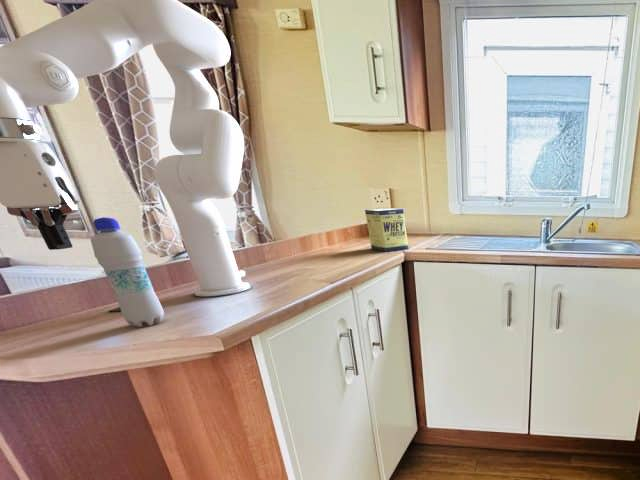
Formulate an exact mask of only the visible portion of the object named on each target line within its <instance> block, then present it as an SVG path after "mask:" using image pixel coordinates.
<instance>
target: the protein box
mask: <svg viewBox="0 0 640 480" xmlns="http://www.w3.org/2000/svg"><path fill="white" fill-rule="evenodd" d="M364 213H365V219H366V224H367V230H368V236H369V242H370V248H371V249H373V250H376V251H377V250H378V251H381V252H394V251H401V250H408V249H409V243H408V235H407V229H406V219H405V213H404V208H373V209H364Z"/></svg>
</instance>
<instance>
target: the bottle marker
mask: <svg viewBox="0 0 640 480" xmlns="http://www.w3.org/2000/svg"><path fill="white" fill-rule="evenodd" d="M118 312H119V313H121V309H120V307H119V306H118V307H116V308H113V309H110V310H108V313H118Z"/></svg>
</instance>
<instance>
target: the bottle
mask: <svg viewBox="0 0 640 480" xmlns="http://www.w3.org/2000/svg"><path fill="white" fill-rule="evenodd" d="M93 225H94V228H95V231H96V232H98V233H95V235H93V236H91V238H90V243H91V247H92V250H93V255H94V257H95V259H96V260H97V263H98V265H100V266H101V267H102V268H103V272H104V273H105V276H106V277H107V280H108V282H109V284H110V287H111V289H112V290H113V293H114V296H115V297H116V298H115V299H116V300H117V304H118V307H120V309H121V311H120V313H121V314H122V317H123V319H124V320H125V322H126V323H127V324H128V325H130V326H131V327H138V328H141V327H143V326H144V324H143V323H146V324H147V325H148V326H153V325H154V322H155V323H157V324H160V323H162V322H163V320H165V311H164V309H163V306H162V303H161V302H160V299H159V298H158V296H157V294H156V291H155V290H154V287H153V285H152V282H151V280H150V277H149V274H148V272H147V270H146V267H145V265H144V257H143V255H142V250H141V249H140V247H139V245H138V244H137V242H136V240H135V238H134V237H133V235H131V234H129V233H126V232H123V231H121V226H120V224H119V222H118V220H117V219H115V218H114V217H113V218H112V217H104V216H103V217H99V218H96V219H94V220H93Z"/></svg>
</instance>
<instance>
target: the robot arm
mask: <svg viewBox="0 0 640 480" xmlns="http://www.w3.org/2000/svg"><path fill="white" fill-rule="evenodd" d="M150 45H152V47H153V50H154V52H155V54H156V56H157V58H158V59H159V61H160V62H161V64H162V65H163V67H164V69H165V70H166V72H167V73H168V75H169V76H170V78H171V81H172V83H173V85H174V101H173V106H172V111H171V117H170V124H169V139H170V141H171V143H172V145H173V147H174V148H175V149H176V150H177V151H178V152H179V153H181V154H174V155H173V154H172V155H168V156H165V157H162V158H161V159H159V160H158V161H157V163H156V164H155V167H154V178H155V181H156V184H157V186H158V188H159V190H160V191H161V193H162V195H163V196H164V198H165V200H166V202H167V204H168V206H169V208H170V210H171V212H172V214H173V217H174V220H175V222H176V225H177V228H178V230H179V233H180V236H181V237H180V238H181V239H182V242H183V245H184V248H185V251H186V253H187V256H188V259H189V261H190V265H191V268H192V270H193V273H194V275H195V278H196V281H197V284H198V287H197V288H195V289H193V294H194V296H196V297H217V296H218V297H219V296H227V295H232V294H237V293H238V294H239V293H241V292H244V291H247V290H250V289H251V285H250V283H249V282H247V281H246V282H245V281H242V278H245V277H246V271H244V270H242V269H240V270H239V267H238V265H237V261H236V258H235V255H234V252H233V249H232V245H231V242H230V239H229V236H228V233H227V232H228V231H227V229H226V225H225V222H224V220H223V217H222V215H221V212H220V211H219V210H218V208H217V207H216V206H215V205H214V203H213V202H212V201H211V200H225V199H228V198H231V197H233V196H234V195H235V193H236V192H237V190H238V188H239V184H240V179H241V174H242V168H243V161H244V156H245V155H244V154H245V137H244V134H243V131H242V129H241V126H240V124H239V123H238V121H237V119H235V118H234V116H232V115H231V114H230V113H228V112H227V111H224V110H222V109H220V102H219V97H218V95H217V93H216V91H215V89H214V88H213V87H212V86H211V84H210V83H209V81H208V80H207V78H206V77H205V76H204V74H203V72H202V71H201V70H207V69H214V68H221V67H224V66H226V65H227V64H228V63H229V61H230V60H231V47H230V43H229V41H228V39H227V37H226V36H225V34H224V32H223V31H222V30H221V29H220V28H219V26H218V25H216V23H214V22H213V21H211V20H210V19H208V18H207V17H206V16H204V15H203V14H201V13H199V12H197V11H196V10H194V9H192V8H191V7H190V6H187V5H186V4H184V3H183V2H180V1H179V0H92V1H90V2H89V3H87V4H85V5H83V6H81V7H80V8H78V9H76V10H74V11H72V12H70V13H68V14H66V15H64V16H62V17H60V18H57V19H56V20H53V21H51V22H49V23H47V24H45V25H43V26H42V27H39V28H38V29H35V30H33V31H31V32H29V33H27V34H24V35H22V36H19V37H17V38H15V39H13V40H11V41H9V42H7V43H4V44H3V45H1V46H0V204H1V205H2V206H3V207H5V208H6V211H7V213H8V214H9V215H10V216H15V217H21V218H24V219H25V220H27V221H28V222H30V224H31V226H33V227H34V228H35V227H36V228H37V229H38V231H39V233H40V235H41V237H42V239H43V241H44V243H45V245H46V247H47V249H48V250H49V251H54V250H64V249H70V248H71V249H72V248H73V244H72V242H71V239H70V237H69V235H68V232H67V230H66V229H65V225H66V224H67V221H66V219H67V217H68V216H70V215H72V214H75V213H77V212H78V211H79V210H78V209H79V208H78V207H77V206H76V205H78V204H79V203H80V198H79V195H78V193H77V191H76V188H75V187H74V185H73V183H72V181H71V179H70V177H69V176H68V173H67V171H66V169H65V168H64V166H63V164H62V162H61V161H60V160H59V158H58V157H57V155H56V154H55V152H54V151H53V149H52V148H51V147H50V145H49V144H48V143H46V142H42V140H41V138H40V136H39V135H42V134H43V130H42V128H41V127H40V126H39V125H38V124H34V122H33V120H32V118H31V116H30V113H29V111H28V109H27V108H34V107H41V106H43V107H44V106H55V105H63V104H67V103H69V102H72V101H73V100H74V99H76V97H77V96H78V94H79V89H80V87H79V81H78V80H79V79H82V78H87V77H92V76H97V75H101V74H103V73H106V72H109V71H112V70H113V69H116V68H117V67H119V66H120V65H122V64H123V63H124V62H125V61H127V60H128V59H130V57H132V56H134V55H135V54H137V53H138V52H140V51H141V50H143V49H144V48H146V47H148V46H150Z"/></svg>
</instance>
